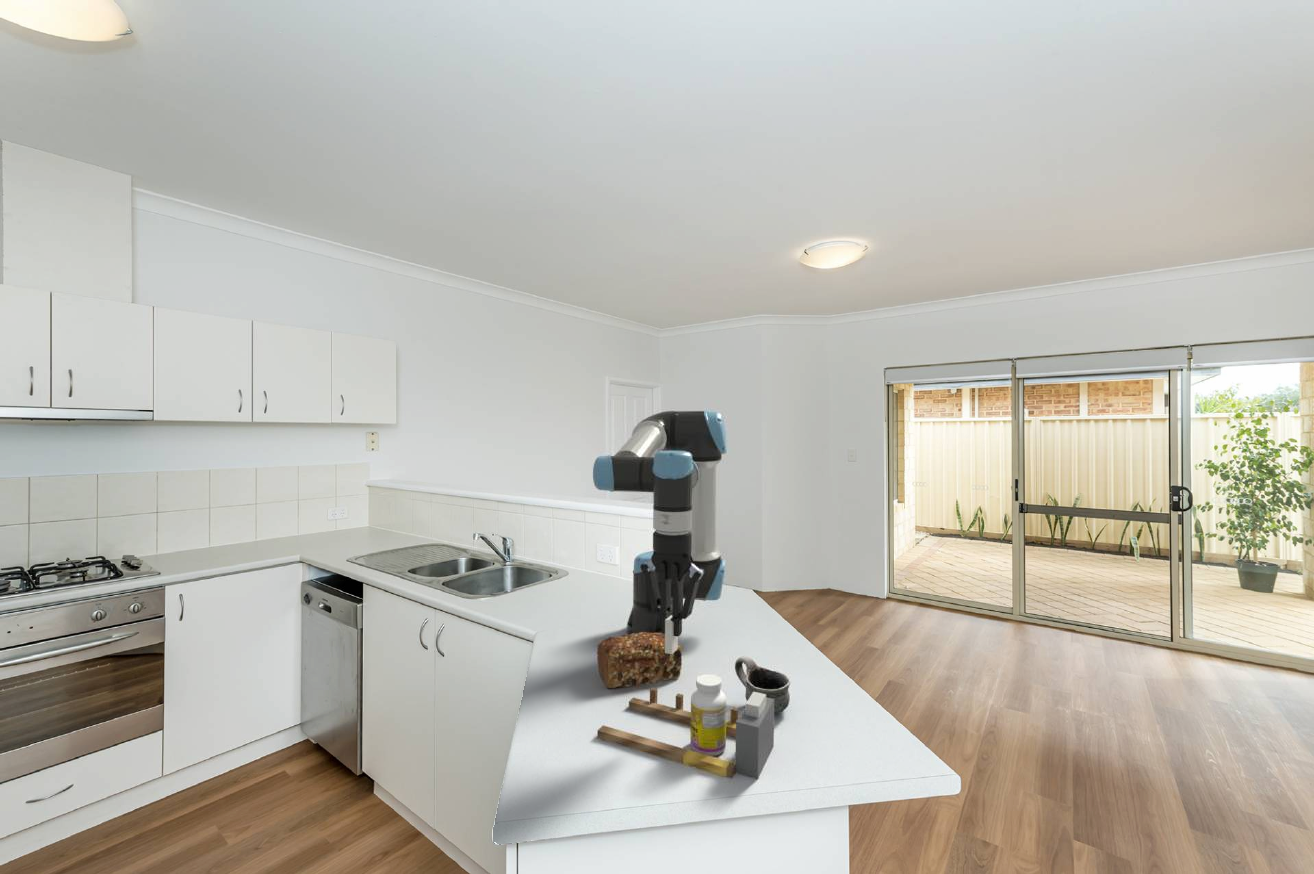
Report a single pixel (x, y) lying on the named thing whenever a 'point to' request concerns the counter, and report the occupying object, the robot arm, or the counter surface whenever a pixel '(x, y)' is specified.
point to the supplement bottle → (708, 716)
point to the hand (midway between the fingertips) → (671, 650)
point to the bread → (637, 660)
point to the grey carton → (754, 735)
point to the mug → (764, 682)
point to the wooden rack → (665, 749)
